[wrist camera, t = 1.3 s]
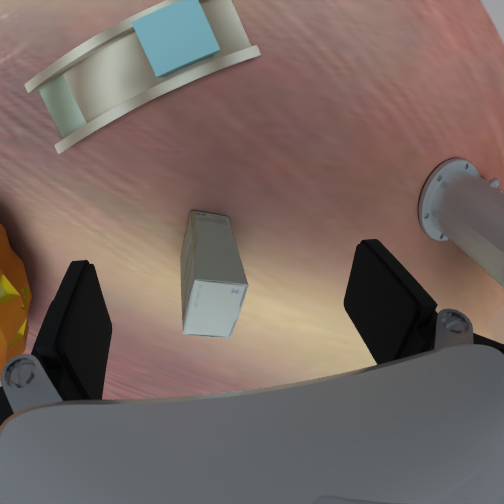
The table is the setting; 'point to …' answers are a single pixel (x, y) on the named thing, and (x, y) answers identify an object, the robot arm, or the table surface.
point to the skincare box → (211, 277)
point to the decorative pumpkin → (12, 302)
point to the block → (176, 36)
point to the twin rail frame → (127, 72)
